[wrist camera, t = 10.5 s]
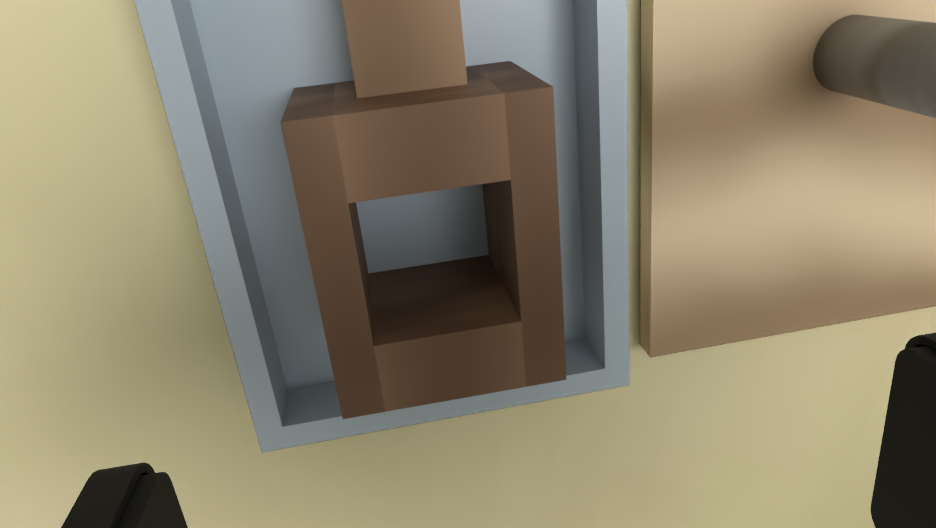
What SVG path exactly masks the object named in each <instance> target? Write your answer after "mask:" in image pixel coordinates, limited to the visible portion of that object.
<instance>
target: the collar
mask: <svg viewBox="0 0 936 528" xmlns="http://www.w3.org/2000/svg"><path fill="white" fill-rule="evenodd" d="M341 2H342V8H343V14H344V20H345V26H346V32H347V39H348V45H349V51H350V57H351V63H352V69H353V76H354V81H346V82H338V83H330V84H322V85H314V86H306V87H298V88H294V90H293V92H292V94H291V97H290V99H289V102H288V104H287V107H286V109H285V112H284V114H283V117H282V119H281V122H280V124H281V129H282V133H283V138H284V143H285V148H286V152H287V157H288V162H289V167H290V171H291V176H292V181H293V186H294V190H295V195H296V200H297V205H298V209H299V214H300V219H301V224H302V228H303V233H304V238H305V243H306V247H307V252H308V257H309V262H310V266H311V271H312V276H313V281H314V285H315V290H316V295H317V300H318V304H319V309H320V314H321V319H322V323H323V328H324V333H325V338H326V342H327V347H328V352H329V356H330V361H331V366H332V371H333V375H334V380H335V385H336V390H337V394H338V399H339V404H340V409H341V413H342V418H343V419H348V418H353V417H359V416H365V415H370V414H376V413H382V412H387V411H393V410H398V409H404V408H410V407H415V406H421V405H427V404H432V403H438V402H444V401H449V400H455V399H461V398H466V397H472V396H478V395H483V394H489V393H494V392H500V391H506V390H511V389H517V388H523V387H528V386H534V385H540V384H545V383H551V382H557V381H562V380H567V379H566V357H565V335H564V313H563V291H562V269H561V247H560V225H559V203H558V181H557V159H556V137H555V115H554V93H553V86H551V85H549V84H548V83H546V82H544V81H543V80H541V79H539V78H538V77H536V76H534V75H533V74H531V73H529V72H528V71H526V70H524V69H523V68H521V67H520V66H518V65H516V64H515V63H513V62H511V61H505V62H497V63H489V64H481V65H473V66H466V63H465V52H464V42H463V31H462V21H461V10H460V0H341ZM479 184H482V187H483V198H484V209H485V219H486V230H487V241H488V252H489V255H484V256H478V257H471V258H465V259H458V260H452V261H446V262H439V263H433V264H426V265H420V266H413V267H407V268H400V269H394V270H388V271H381V272H375V273H368V269H367V263H366V257H365V251H364V246H363V240H362V234H361V228H360V223H359V217H358V211H357V205H356V202H361V201H368V200H375V199H382V198H389V197H395V196H402V195H409V194H416V193H423V192H430V191H437V190H444V189H451V188H458V187H465V186H472V185H479Z"/></svg>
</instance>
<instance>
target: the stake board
mask: <svg viewBox="0 0 936 528" xmlns="http://www.w3.org/2000/svg"><path fill="white" fill-rule="evenodd" d="M933 306H936V0H641V241H640V345H641V346H642V347H643V349H644V350H645V351H646V353H647V354H648V355H649V356H650V357H655V356H661V355H666V354H672V353H677V352H683V351H688V350H694V349H699V348H705V347H711V346H716V345H722V344H727V343H733V342H738V341H744V340H750V339H755V338H761V337H766V336H772V335H777V334H783V333H789V332H794V331H800V330H805V329H811V328H816V327H822V326H827V325H833V324H839V323H844V322H850V321H855V320H861V319H866V318H872V317H878V316H883V315H889V314H894V313H900V312H905V311H911V310H917V309H922V308H928V307H933Z"/></svg>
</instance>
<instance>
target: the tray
mask: <svg viewBox="0 0 936 528" xmlns="http://www.w3.org/2000/svg"><path fill="white" fill-rule="evenodd" d="M134 2H135V5H136V9H137V13H138V16H139V20H140V23H141V27H142V30H143V34H144V37H145V41H146V44H147V48H148V51H149V55H150V59H151V62H152V66H153V69H154V73H155V76H156V80H157V83H158V87H159V90H160V94H161V98H162V101H163V105H164V108H165V112H166V115H167V119H168V122H169V126H170V129H171V133H172V136H173V140H174V144H175V147H176V151H177V154H178V158H179V161H180V165H181V168H182V172H183V175H184V179H185V183H186V186H187V190H188V193H189V197H190V200H191V204H192V207H193V211H194V214H195V218H196V222H197V225H198V229H199V232H200V236H201V239H202V243H203V246H204V250H205V253H206V257H207V260H208V264H209V268H210V271H211V275H212V278H213V282H214V285H215V289H216V292H217V296H218V299H219V303H220V307H221V310H222V314H223V317H224V321H225V324H226V328H227V331H228V335H229V338H230V342H231V345H232V349H233V353H234V356H235V360H236V363H237V367H238V370H239V374H240V377H241V381H242V384H243V388H244V392H245V395H246V399H247V402H248V406H249V409H250V413H251V416H252V420H253V423H254V427H255V431H256V434H257V438H258V441H259V445H260V448H261V452H267V451H273V450H278V449H284V448H289V447H294V446H300V445H305V444H311V443H316V442H322V441H327V440H333V439H338V438H343V437H349V436H354V435H360V434H365V433H371V432H376V431H382V430H387V429H393V428H398V427H403V426H409V425H414V424H420V423H425V422H431V421H436V420H442V419H447V418H452V417H458V416H463V415H469V414H474V413H480V412H485V411H491V410H496V409H502V408H507V407H512V406H518V405H523V404H529V403H534V402H540V401H545V400H551V399H556V398H561V397H567V396H572V395H578V394H583V393H589V392H594V391H600V390H605V389H611V388H616V387H621V386H627V385H629V266H628V92H627V0H460V10H461V21H462V31H463V42H464V52H465V63H466V66H473V65H481V64H489V63H497V62H505V61H511V62H513V63H515V64H516V65H518V66H520V67H521V68H523V69H524V70H526V71H528V72H529V73H531V74H533V75H534V76H536V77H538V78H539V79H541V80H543V81H544V82H546V83H548V84H549V85H551V86H553V93H554V115H555V137H556V159H557V181H558V203H559V225H560V247H561V269H562V291H563V313H564V335H565V357H566V379H567V380H562V381H557V382H551V383H545V384H540V385H534V386H528V387H523V388H517V389H511V390H506V391H500V392H494V393H489V394H483V395H478V396H472V397H466V398H461V399H455V400H449V401H444V402H438V403H432V404H427V405H421V406H415V407H410V408H404V409H398V410H393V411H387V412H382V413H376V414H370V415H365V416H359V417H353V418H348V419H343V418H342V413H341V409H340V404H339V399H338V394H337V390H336V385H335V380H334V375H333V371H332V366H331V361H330V356H329V352H328V347H327V342H326V338H325V333H324V328H323V323H322V319H321V314H320V309H319V304H318V300H317V295H316V290H315V285H314V281H313V276H312V271H311V266H310V262H309V257H308V252H307V247H306V243H305V238H304V233H303V228H302V224H301V219H300V214H299V209H298V205H297V200H296V195H295V190H294V186H293V181H292V176H291V171H290V167H289V162H288V157H287V152H286V148H285V143H284V138H283V133H282V129H281V124H280V122H281V119H282V117H283V114H284V112H285V109H286V107H287V104H288V102H289V99H290V97H291V94H292V92H293V90H294V88H298V87H306V86H314V85H322V84H330V83H338V82H346V81H354V76H353V69H352V63H351V57H350V51H349V45H348V39H347V32H346V26H345V20H344V14H343V8H342V2H341V0H134ZM356 205H357V211H358V217H359V223H360V228H361V234H362V240H363V246H364V251H365V257H366V263H367V269H368V273H375V272H381V271H388V270H394V269H400V268H407V267H413V266H420V265H426V264H433V263H439V262H446V261H452V260H458V259H465V258H471V257H478V256H484V255H489V252H488V241H487V230H486V219H485V209H484V198H483V187H482V184H479V185H472V186H465V187H458V188H451V189H444V190H437V191H430V192H423V193H416V194H409V195H402V196H395V197H389V198H382V199H375V200H368V201H361V202H356Z"/></svg>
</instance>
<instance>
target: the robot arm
mask: <svg viewBox="0 0 936 528" xmlns="http://www.w3.org/2000/svg"><path fill="white" fill-rule="evenodd" d="M871 515H872V519H873V522H874V525H875V527H876V528H936V333H931V334H925V335H919V336H916V337H913V338H911V339H910V340H909V341H908V343H907V344H906V347H905V349H904V350H902V351H900V353H899V354H898V355H897V358H896V361H895V367H894V373H893V379H892V385H891V390H890V396H889V402H888V408H887V414H886V420H885V426H884V432H883V438H882V444H881V449H880V455H879V461H878V467H877V473H876V479H875V485H874V491H873V497H872V503H871ZM61 528H188V527H187V524H186V522H185V519H184V516H183V513H182V510H181V507H180V504H179V501H178V499H177V496H176V493H175V490H174V487H173V484H172V481H171V479H170V477H169V476H168V474H167V473H165V472H160V473H155V472H154V470H153V468H152V467H151V466H150V465H149V464H147V463H139V464H133V465H127V466H121V467H114V468H108V469H102V470H98V471H96V472H94V473H92V475H91V476H90V477H89V479H88V480H87V482H86V484H85V486H84V488H83V489H82V491H81V493H80V495H79V497H78V498H77V500H76V502H75V504H74V506H73V507H72V509H71V511H70V513H69V515H68V516H67V518H66V520H65V522H64V524H63V525H62V527H61Z"/></svg>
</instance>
